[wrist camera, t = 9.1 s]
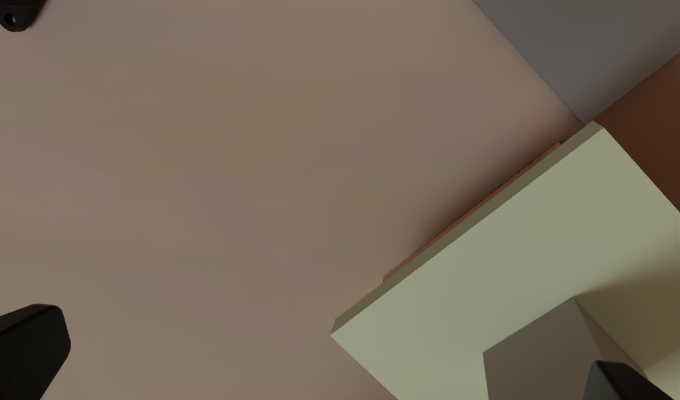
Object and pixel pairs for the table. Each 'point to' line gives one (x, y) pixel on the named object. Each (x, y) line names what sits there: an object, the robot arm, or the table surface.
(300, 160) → the table surface
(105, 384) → the table surface
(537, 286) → the lid
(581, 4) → the mat
